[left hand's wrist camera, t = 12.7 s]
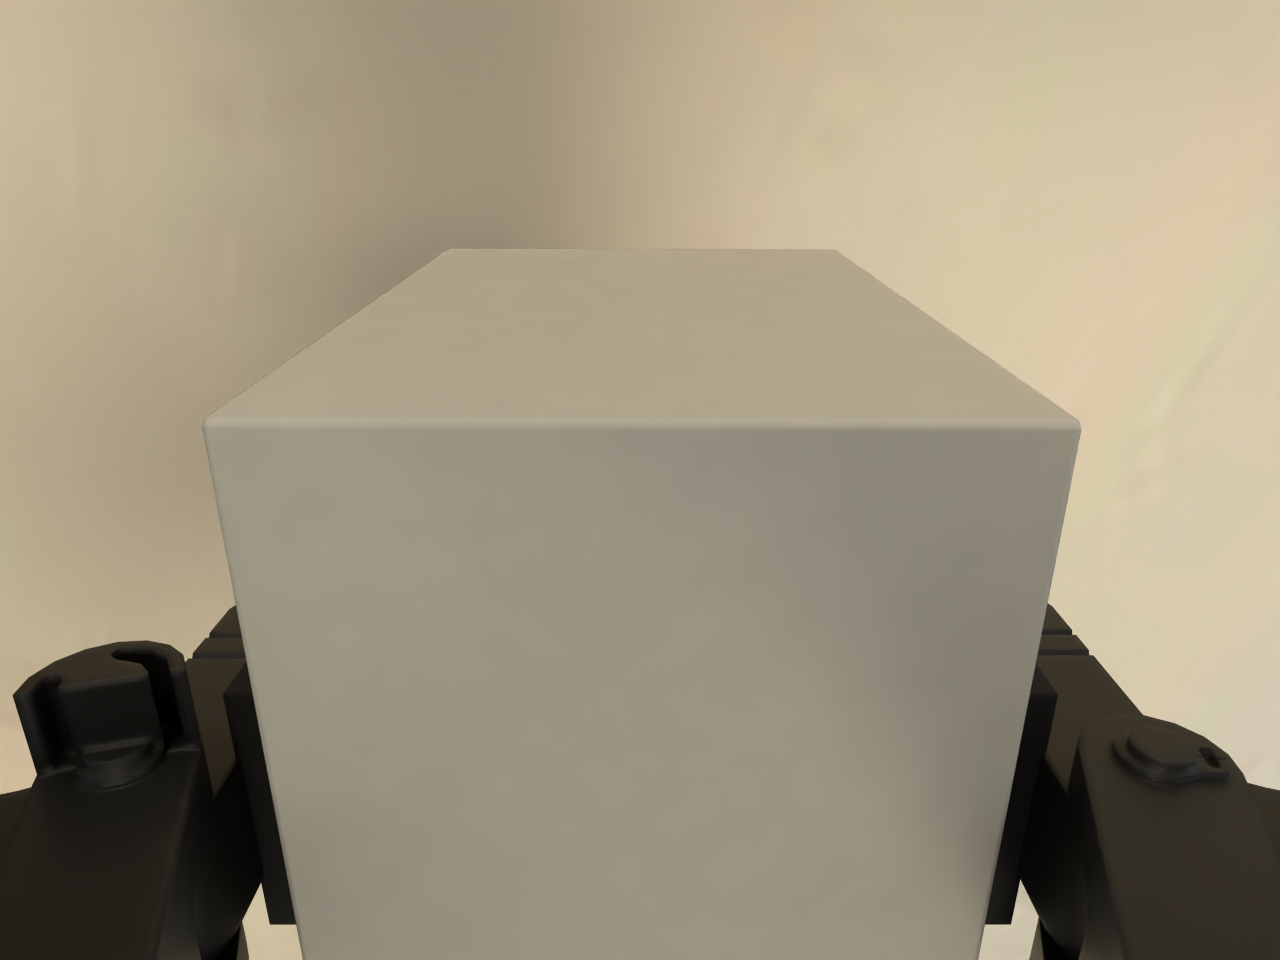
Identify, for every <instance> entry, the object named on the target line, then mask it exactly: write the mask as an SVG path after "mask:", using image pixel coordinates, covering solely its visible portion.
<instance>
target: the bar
mask: <svg viewBox="0 0 1280 960" xmlns="http://www.w3.org/2000/svg"><path fill="white" fill-rule="evenodd" d="M203 433H204V438H205V443H206V449H207V454H208V459H209V465H210V470H211V475H212V481H213V486H214V491H215V496H216V502H217V507H218V512H219V518H220V523H221V528H222V533H223V539H224V544H225V549H226V555H227V560H228V565H229V571H230V576H231V581H232V586H233V592H234V597H235V602H236V608H237V613H238V618H239V623H240V629H241V634H242V639H243V645H244V650H245V655H246V661H247V666H248V671H249V676H250V682H251V687H252V692H253V698H254V703H255V708H256V713H257V719H258V724H259V729H260V735H261V740H262V745H263V751H264V756H265V761H266V766H267V772H268V777H269V782H270V788H271V793H272V798H273V803H274V809H275V814H276V819H277V825H278V830H279V835H280V841H281V846H282V851H283V856H284V862H285V867H286V872H287V878H288V883H289V888H290V894H291V899H292V904H293V909H294V915H295V920H296V925H297V931H298V936H299V941H300V946H301V952H302V957H303V960H978V957H979V952H980V947H981V942H982V936H983V931H984V926H985V921H986V916H987V911H988V906H989V900H990V895H991V890H992V885H993V880H994V875H995V870H996V865H997V859H998V854H999V849H1000V844H1001V839H1002V834H1003V829H1004V823H1005V818H1006V813H1007V808H1008V803H1009V798H1010V793H1011V788H1012V782H1013V777H1014V772H1015V767H1016V762H1017V757H1018V752H1019V747H1020V741H1021V736H1022V731H1023V726H1024V721H1025V716H1026V711H1027V705H1028V700H1029V695H1030V690H1031V685H1032V680H1033V675H1034V670H1035V664H1036V659H1037V654H1038V649H1039V644H1040V639H1041V634H1042V628H1043V623H1044V618H1045V613H1046V608H1047V603H1048V598H1049V593H1050V587H1051V582H1052V577H1053V572H1054V567H1055V562H1056V557H1057V552H1058V546H1059V541H1060V536H1061V531H1062V526H1063V521H1064V516H1065V510H1066V505H1067V500H1068V495H1069V490H1070V485H1071V480H1072V475H1073V469H1074V464H1075V459H1076V454H1077V449H1078V444H1079V439H1080V433H1081V426H1080V422H1079V420H1078V419H1076V418H1075V417H1073V416H1072V415H1071V414H1069V413H1068V412H1066V411H1065V410H1063V409H1062V408H1061V407H1059V406H1058V405H1056V404H1055V403H1053V402H1052V401H1051V400H1049V399H1048V398H1046V397H1045V396H1043V395H1042V394H1041V393H1039V392H1038V391H1036V390H1035V389H1033V388H1032V387H1031V386H1029V385H1028V384H1026V383H1025V382H1023V381H1022V380H1021V379H1019V378H1018V377H1016V376H1015V375H1013V374H1012V373H1011V372H1009V371H1008V370H1006V369H1005V368H1003V367H1002V366H1001V365H999V364H998V363H996V362H995V361H993V360H992V359H991V358H989V357H988V356H986V355H985V354H983V353H982V352H981V351H979V350H978V349H976V348H975V347H973V346H972V345H971V344H969V343H968V342H966V341H965V340H963V339H962V338H961V337H959V336H958V335H956V334H955V333H953V332H952V331H951V330H949V329H948V328H946V327H945V326H943V325H942V324H941V323H939V322H938V321H936V320H935V319H933V318H932V317H931V316H929V315H928V314H926V313H925V312H923V311H922V310H921V309H919V308H918V307H916V306H915V305H913V304H912V303H911V302H909V301H908V300H906V299H905V298H903V297H902V296H901V295H899V294H898V293H896V292H895V291H893V290H892V289H891V288H889V287H888V286H886V285H885V284H883V283H882V282H881V281H879V280H878V279H876V278H875V277H873V276H872V275H871V274H869V273H868V272H866V271H865V270H863V269H862V268H861V267H859V266H858V265H856V264H855V263H853V262H852V261H851V260H849V259H848V258H846V257H845V256H843V255H842V254H841V253H839V252H838V251H836V250H785V249H448V250H446V251H445V252H443V253H442V254H440V255H439V256H438V257H436V258H435V259H433V260H432V261H430V262H429V263H427V264H426V265H425V266H423V267H422V268H420V269H419V270H417V271H416V272H415V273H413V274H412V275H410V276H409V277H407V278H406V279H404V280H403V281H402V282H400V283H399V284H397V285H396V286H394V287H393V288H391V289H390V290H389V291H387V292H386V293H384V294H383V295H381V296H380V297H379V298H377V299H376V300H374V301H373V302H371V303H370V304H368V305H367V306H366V307H364V308H363V309H361V310H360V311H358V312H357V313H355V314H354V315H353V316H351V317H350V318H348V319H347V320H345V321H344V322H343V323H341V324H340V325H338V326H337V327H335V328H334V329H332V330H331V331H330V332H328V333H327V334H325V335H324V336H322V337H321V338H320V339H318V340H317V341H315V342H314V343H312V344H311V345H309V346H308V347H307V348H305V349H304V350H302V351H301V352H299V353H298V354H296V355H295V356H294V357H292V358H291V359H289V360H288V361H286V362H285V363H284V364H282V365H281V366H279V367H278V368H276V369H275V370H273V371H272V372H271V373H269V374H268V375H266V376H265V377H263V378H262V379H260V380H259V381H258V382H256V383H255V384H253V385H252V386H250V387H249V388H248V389H246V390H245V391H243V392H242V393H240V394H239V395H237V396H236V397H235V398H233V399H232V400H230V401H229V402H227V403H226V404H225V405H223V406H222V407H220V408H219V409H217V410H216V411H214V412H213V413H212V414H210V415H209V416H207V417H206V418H205V419H204V422H203Z"/></svg>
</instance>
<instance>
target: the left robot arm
mask: <svg viewBox="0 0 1280 960" xmlns="http://www.w3.org/2000/svg"><path fill="white" fill-rule="evenodd" d="M13 698H14V701H15V705H16V708H17V711H18V714H19V717H20V721H21V724H22V727H23V730H24V734H25V737H26V740H27V743H28V747H29V750H30V753H31V756H32V759H33V763H34V766H35V769H36V772H37V776H36V778H35V781H34V783H33V785H32V787H31V788H27V789H23V790H19V791H15V792H11V793H6V794H1V795H0V960H249V954H248V948H247V942H246V936H245V932H244V927H243V923H242V920H243V918H244V916H245V914H246V912H247V910H248V908H249V906H250V904H251V902H252V900H253V898H254V896H255V894H256V892H257V890H258V888H259V886H260V883H262V888H263V893H264V898H265V903H266V908H267V913H268V917H269V922H270V924H296V920H295V915H294V909H293V904H292V899H291V894H290V888H289V883H288V878H287V872H286V867H285V862H284V856H283V851H282V846H281V841H280V835H279V830H278V825H277V819H276V814H275V809H274V803H273V798H272V793H271V788H270V782H269V777H268V772H267V766H266V761H265V756H264V751H263V745H262V740H261V735H260V729H259V724H258V719H257V713H256V708H255V703H254V698H253V692H252V687H251V682H250V676H249V671H248V666H247V661H246V655H245V650H244V645H243V639H242V634H241V629H240V623H239V618H238V613H237V608H236V605H235V606H234V607H232V608H231V609H229V610H228V612H227V613H226V614H225V615H224V616H223V618H222V619H221V620H220V621H219V622H218V624H217V625H216V626H215V627H214V628H213V630H212V631H211V632H210V636H209V638H205V639H204V640H203V642H202V643H201V644H200V645H199V647H198V648H197V649H196V650H195V651H194V653H193V658H192V659H188V660H187V661H186V662H185V661H184V656H183V654H182V653H180V652H179V651H177V650H176V649H175V648H173V647H172V646H171V645H168V644H162V643H157V642H152V641H128V642H116V643H111V644H107V645H102V646H98V647H94V648H89V649H85V650H83V651H80V652H77V653H75V654H72V655H70V656H67V657H65V658H62V659H60V660H57V661H55V662H53V663H51V664H50V665H48V666H47V667H45V668H43V669H42V670H40V671H39V672H37V673H35V674H34V675H32V676H31V677H29V678H28V679H27V680H26V681H25V682H24V683H23V684H22V686H21V687H20V688H19V689H18V690H17V691H16V692H15V693H14V694H13ZM1020 879H1021V881H1022V883H1023V885H1024V887H1025V889H1026V891H1027V893H1028V895H1029V897H1030V899H1031V901H1032V903H1033V905H1034V907H1035V910H1036V912H1037V914H1038V916H1039V918H1038V923H1037V927H1036V932H1035V936H1034V941H1033V946H1032V950H1031V955H1030V959H1029V960H1280V790H1275V789H1270V788H1265V787H1261V786H1258V785H1254V784H1250V783H1247V781H1246V779H1245V777H1244V775H1243V773H1242V772H1241V770H1240V769H1239V768H1238V766H1237V765H1236V764H1235V762H1234V761H1233V760H1232V759H1231V757H1230V756H1229V755H1228V754H1227V753H1226V752H1224V751H1223V750H1222V749H1220V748H1219V747H1217V746H1216V745H1215V744H1213V743H1212V742H1211V741H1209V740H1208V739H1206V738H1205V737H1203V736H1201V735H1199V734H1197V733H1195V732H1192V731H1190V730H1188V729H1186V728H1184V727H1182V726H1179V725H1177V724H1175V723H1171V722H1168V721H1164V720H1160V719H1156V718H1152V717H1148V716H1144V715H1143V714H1142V713H1141V712H1140V711H1139V710H1138V708H1137V707H1136V706H1135V705H1134V704H1133V702H1132V701H1131V700H1130V699H1129V698H1128V696H1127V695H1126V694H1125V693H1124V692H1123V691H1122V689H1121V688H1120V687H1119V686H1118V685H1117V683H1116V682H1115V681H1114V680H1113V679H1112V677H1111V676H1110V675H1109V674H1108V673H1107V671H1106V670H1105V669H1104V668H1103V667H1102V665H1101V664H1100V663H1099V662H1098V661H1097V659H1096V658H1095V657H1094V656H1093V655H1089V650H1088V649H1087V647H1086V646H1085V645H1084V644H1083V643H1082V641H1081V640H1080V639H1079V638H1078V637H1077V635H1072V630H1071V628H1070V627H1069V626H1068V625H1067V624H1066V622H1065V621H1064V620H1063V619H1062V618H1061V616H1060V615H1059V614H1058V613H1057V612H1056V610H1055V609H1054V608H1053V607H1052V606H1051V605H1049V604H1048V603H1047V608H1046V613H1045V618H1044V623H1043V628H1042V634H1041V639H1040V644H1039V649H1038V654H1037V659H1036V664H1035V670H1034V675H1033V680H1032V685H1031V690H1030V695H1029V700H1028V705H1027V711H1026V716H1025V721H1024V726H1023V731H1022V736H1021V741H1020V747H1019V752H1018V757H1017V762H1016V767H1015V772H1014V777H1013V782H1012V788H1011V793H1010V798H1009V803H1008V808H1007V813H1006V818H1005V823H1004V829H1003V834H1002V839H1001V844H1000V849H999V854H998V859H997V865H996V870H995V875H994V880H993V885H992V890H991V895H990V900H989V906H988V911H987V916H986V921H985V924H1011V921H1012V916H1013V912H1014V907H1015V902H1016V897H1017V892H1018V887H1019V883H1020Z"/></svg>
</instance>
